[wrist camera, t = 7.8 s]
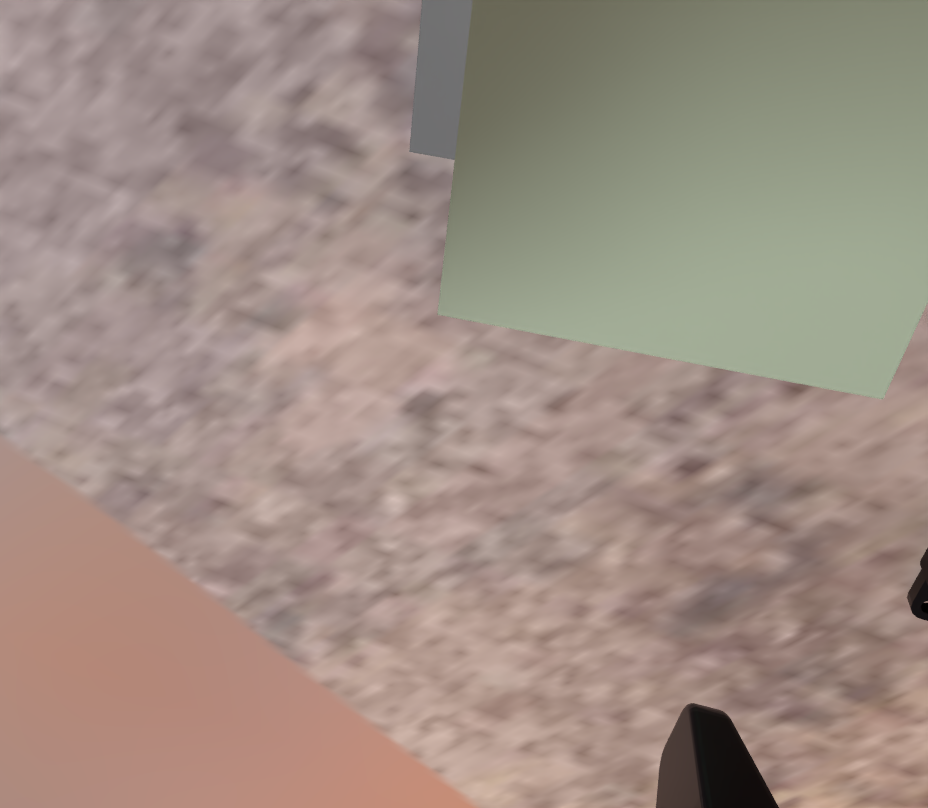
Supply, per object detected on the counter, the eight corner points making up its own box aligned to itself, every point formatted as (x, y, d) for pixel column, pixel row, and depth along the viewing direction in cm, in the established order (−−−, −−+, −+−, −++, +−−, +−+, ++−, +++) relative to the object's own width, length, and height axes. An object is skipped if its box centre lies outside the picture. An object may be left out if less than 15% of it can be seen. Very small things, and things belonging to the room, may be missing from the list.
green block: (947, -142, 11) (1127, -134, 7) (813, 231, 14) (883, 400, 10) (553, -196, 11) (497, -220, 7) (499, 176, 14) (436, 314, 10)
